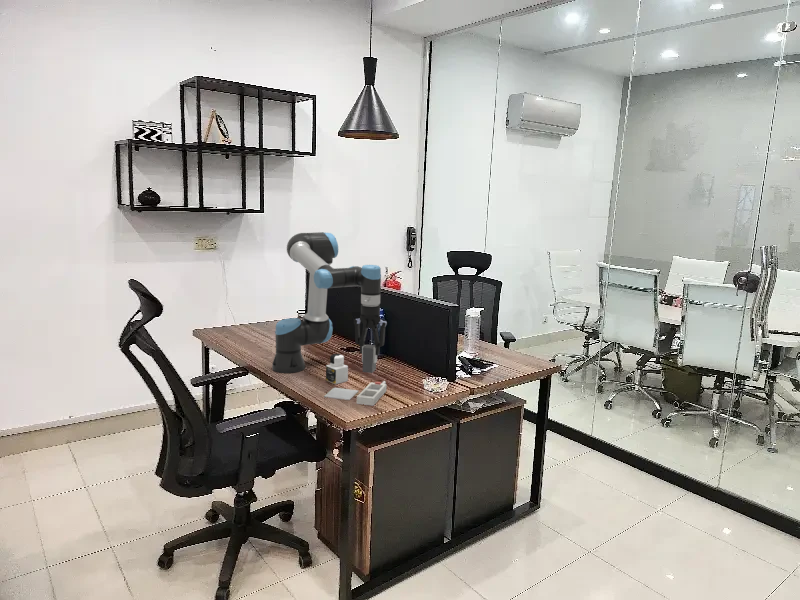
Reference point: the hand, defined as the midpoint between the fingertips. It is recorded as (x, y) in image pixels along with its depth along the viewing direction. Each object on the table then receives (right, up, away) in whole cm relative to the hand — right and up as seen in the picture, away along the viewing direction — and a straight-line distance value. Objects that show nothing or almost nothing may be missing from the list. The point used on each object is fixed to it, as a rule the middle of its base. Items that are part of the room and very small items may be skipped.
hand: (369, 361), depth 223 cm
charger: (0, -4, +1) cm, 4 cm away
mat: (-12, -15, +9) cm, 21 cm away
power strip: (+2, -15, +11) cm, 18 cm away
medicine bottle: (-16, -12, +25) cm, 32 cm away
